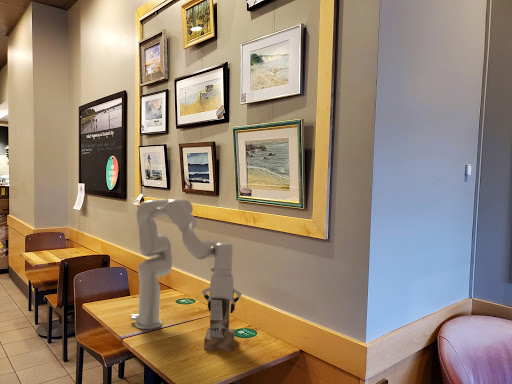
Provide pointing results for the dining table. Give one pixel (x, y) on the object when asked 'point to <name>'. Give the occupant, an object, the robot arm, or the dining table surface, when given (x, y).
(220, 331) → the coffee box
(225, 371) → the dining table surface
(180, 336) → the dining table surface
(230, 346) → the walnut block
